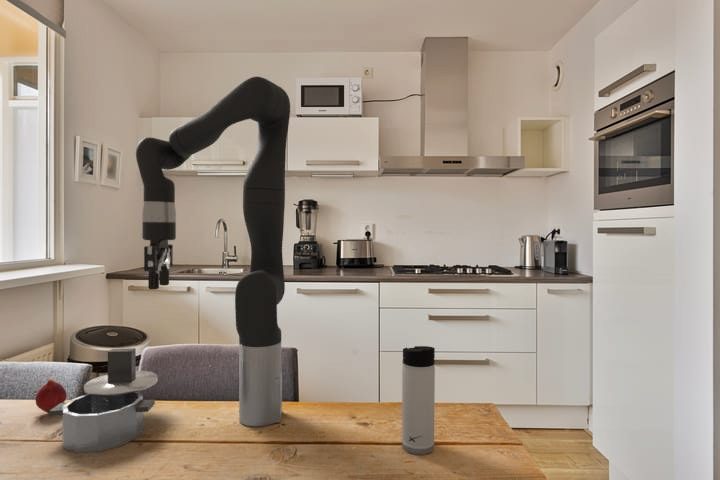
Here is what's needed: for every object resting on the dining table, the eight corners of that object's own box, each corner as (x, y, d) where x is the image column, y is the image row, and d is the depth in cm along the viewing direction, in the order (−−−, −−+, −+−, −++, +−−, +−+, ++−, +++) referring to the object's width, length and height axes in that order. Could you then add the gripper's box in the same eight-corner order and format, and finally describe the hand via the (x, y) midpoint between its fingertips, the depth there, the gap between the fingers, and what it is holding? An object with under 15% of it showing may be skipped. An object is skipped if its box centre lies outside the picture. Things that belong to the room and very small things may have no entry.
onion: (72, 408, 105) (72, 375, 104) (53, 419, 99) (52, 383, 99) (49, 407, 105) (49, 374, 105) (29, 417, 100) (28, 382, 99)
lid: (166, 373, 108) (165, 341, 108) (144, 395, 94) (144, 358, 93) (102, 375, 106) (102, 342, 106) (70, 397, 92) (69, 360, 92)
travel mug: (414, 459, 82) (415, 351, 82) (395, 443, 88) (396, 343, 88) (441, 451, 85) (442, 347, 85) (421, 437, 91) (422, 340, 91)
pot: (162, 418, 99) (162, 387, 99) (138, 449, 85) (138, 413, 85) (73, 422, 97) (73, 390, 97) (34, 454, 83) (34, 417, 83)
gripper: (166, 220, 103) (166, 291, 103) (183, 221, 117) (182, 283, 118) (132, 220, 102) (132, 291, 102) (153, 221, 116) (153, 283, 117)
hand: (159, 287), depth 110 cm, fingers open, 7 cm apart
